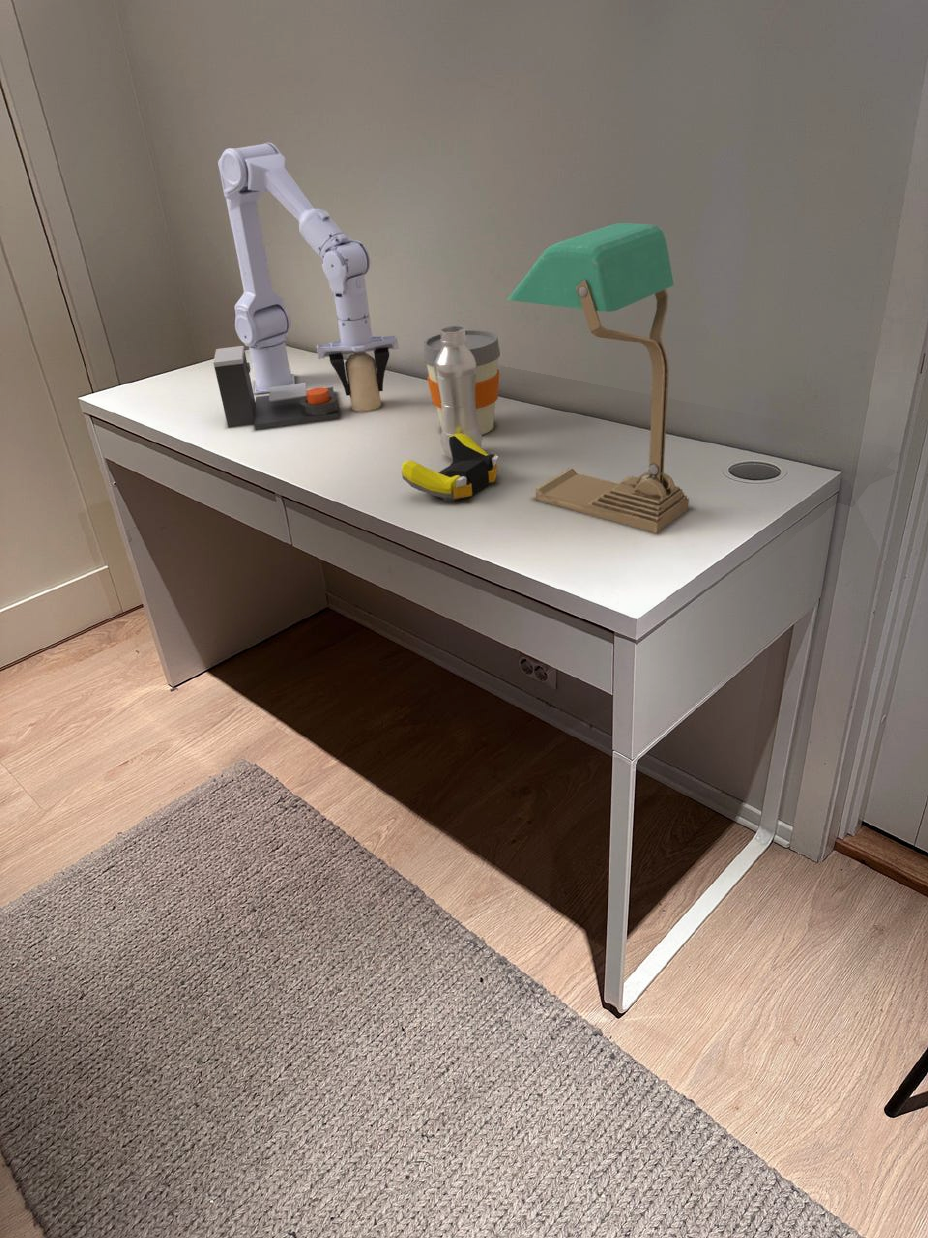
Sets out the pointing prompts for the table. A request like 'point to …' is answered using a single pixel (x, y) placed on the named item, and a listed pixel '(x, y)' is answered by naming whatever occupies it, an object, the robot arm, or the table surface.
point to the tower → (244, 387)
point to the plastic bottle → (456, 387)
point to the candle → (362, 382)
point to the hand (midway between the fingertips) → (363, 391)
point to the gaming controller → (454, 471)
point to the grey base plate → (293, 411)
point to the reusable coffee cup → (486, 373)
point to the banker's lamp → (607, 281)
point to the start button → (317, 395)
